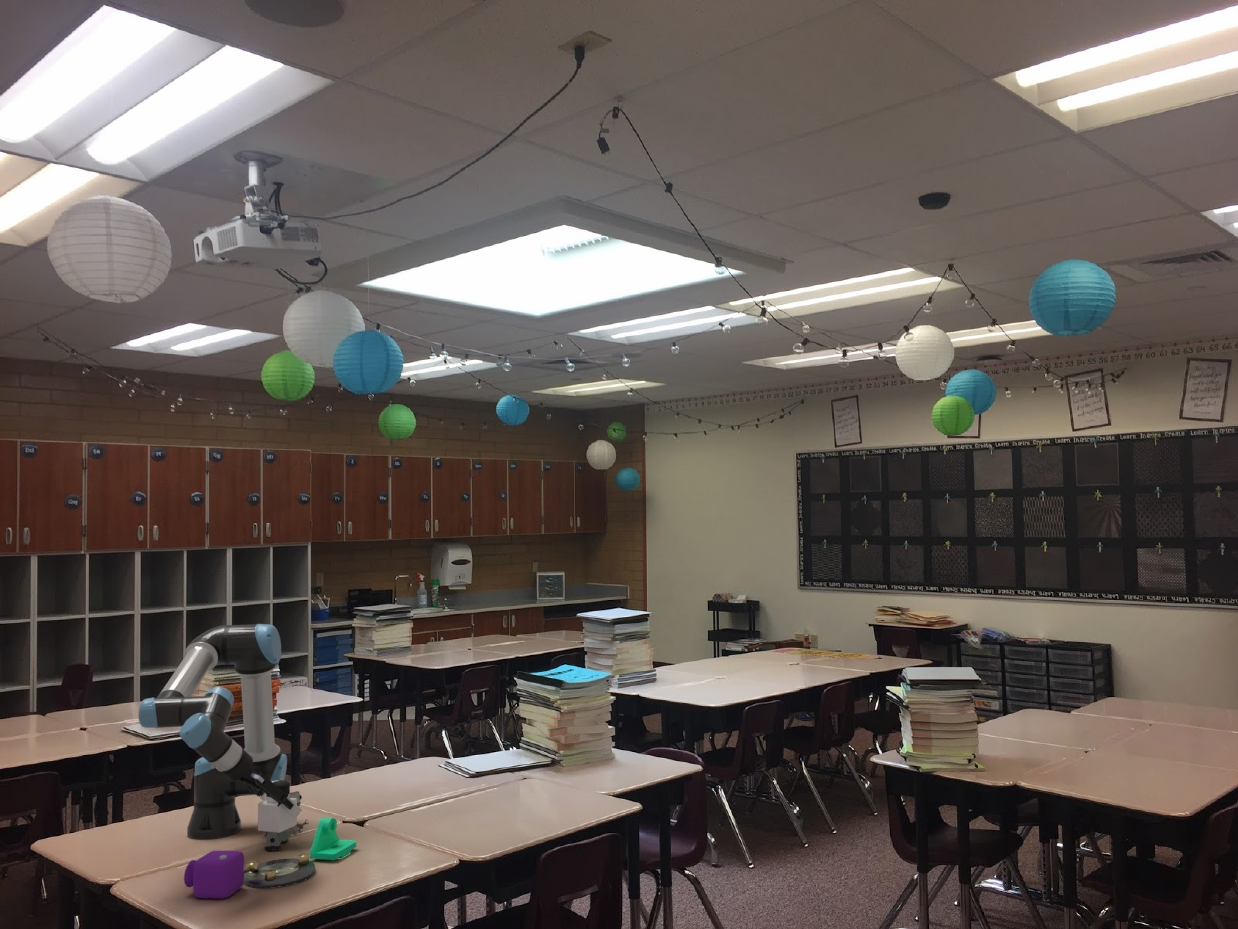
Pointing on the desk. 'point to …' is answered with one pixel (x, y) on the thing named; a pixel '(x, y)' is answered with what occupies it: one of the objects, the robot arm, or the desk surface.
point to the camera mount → (329, 842)
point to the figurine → (275, 838)
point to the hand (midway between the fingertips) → (289, 810)
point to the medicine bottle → (275, 812)
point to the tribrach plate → (278, 872)
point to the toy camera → (216, 874)
